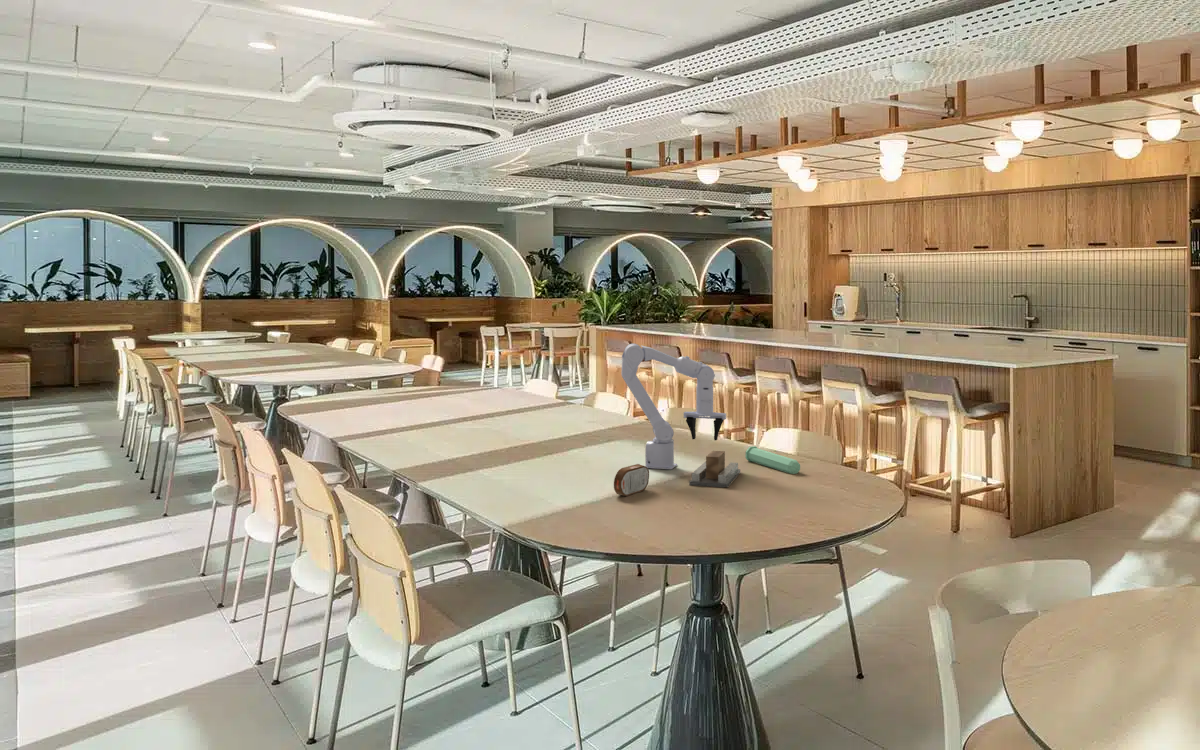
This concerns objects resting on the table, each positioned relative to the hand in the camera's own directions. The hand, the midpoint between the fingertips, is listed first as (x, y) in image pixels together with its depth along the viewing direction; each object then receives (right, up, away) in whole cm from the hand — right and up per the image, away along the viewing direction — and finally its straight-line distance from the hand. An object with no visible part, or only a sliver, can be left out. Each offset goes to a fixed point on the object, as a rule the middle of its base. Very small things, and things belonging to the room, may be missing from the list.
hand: (704, 439), depth 307 cm
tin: (-26, -14, -36) cm, 47 cm away
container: (+23, -10, -2) cm, 25 cm away
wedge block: (+1, -10, -19) cm, 21 cm away
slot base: (+1, -11, -18) cm, 22 cm away
